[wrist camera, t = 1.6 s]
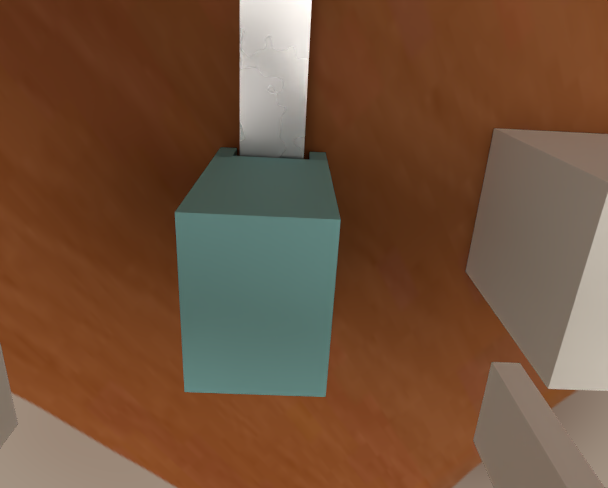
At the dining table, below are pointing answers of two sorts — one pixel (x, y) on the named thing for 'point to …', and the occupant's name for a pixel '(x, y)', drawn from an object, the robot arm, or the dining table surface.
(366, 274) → the dining table surface
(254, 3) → the rail
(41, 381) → the dining table surface
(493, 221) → the cabinet
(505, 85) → the dining table surface
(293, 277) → the block
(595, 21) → the dining table surface
